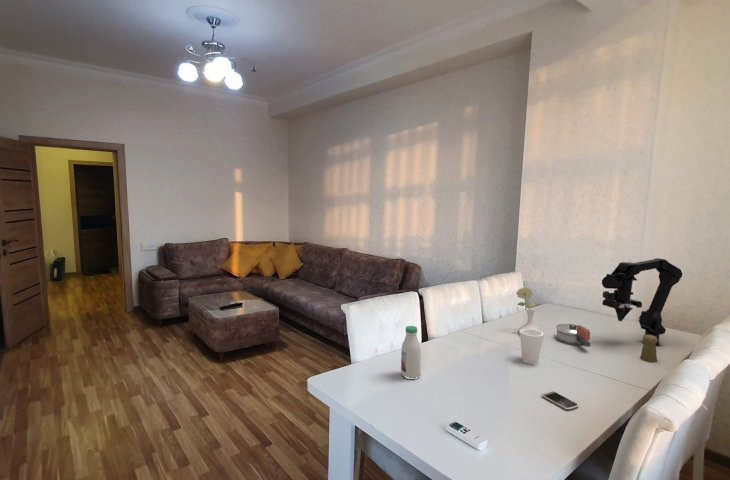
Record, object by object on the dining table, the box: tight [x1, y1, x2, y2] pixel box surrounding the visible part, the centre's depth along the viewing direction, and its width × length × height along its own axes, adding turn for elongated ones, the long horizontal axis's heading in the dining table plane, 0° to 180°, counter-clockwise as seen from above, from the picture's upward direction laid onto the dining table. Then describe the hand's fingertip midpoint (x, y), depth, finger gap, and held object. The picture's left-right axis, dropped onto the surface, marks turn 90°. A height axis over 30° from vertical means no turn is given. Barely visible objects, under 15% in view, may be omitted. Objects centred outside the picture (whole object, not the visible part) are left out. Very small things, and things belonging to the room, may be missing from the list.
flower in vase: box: [515, 287, 541, 334], centre depth 199 cm, size 13×11×25 cm
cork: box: [640, 334, 658, 363], centre depth 168 cm, size 6×6×11 cm
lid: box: [555, 323, 591, 341], centre depth 187 cm, size 23×15×5 cm, turn 174°
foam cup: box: [519, 329, 545, 365], centre depth 166 cm, size 10×9×13 cm
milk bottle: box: [400, 325, 422, 378], centre depth 152 cm, size 8×8×20 cm
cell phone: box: [540, 391, 579, 412], centre depth 133 cm, size 6×11×1 cm, turn 25°
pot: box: [556, 329, 591, 348], centre depth 189 cm, size 24×14×5 cm, turn 176°
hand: (619, 320), depth 183 cm, fingers closed
